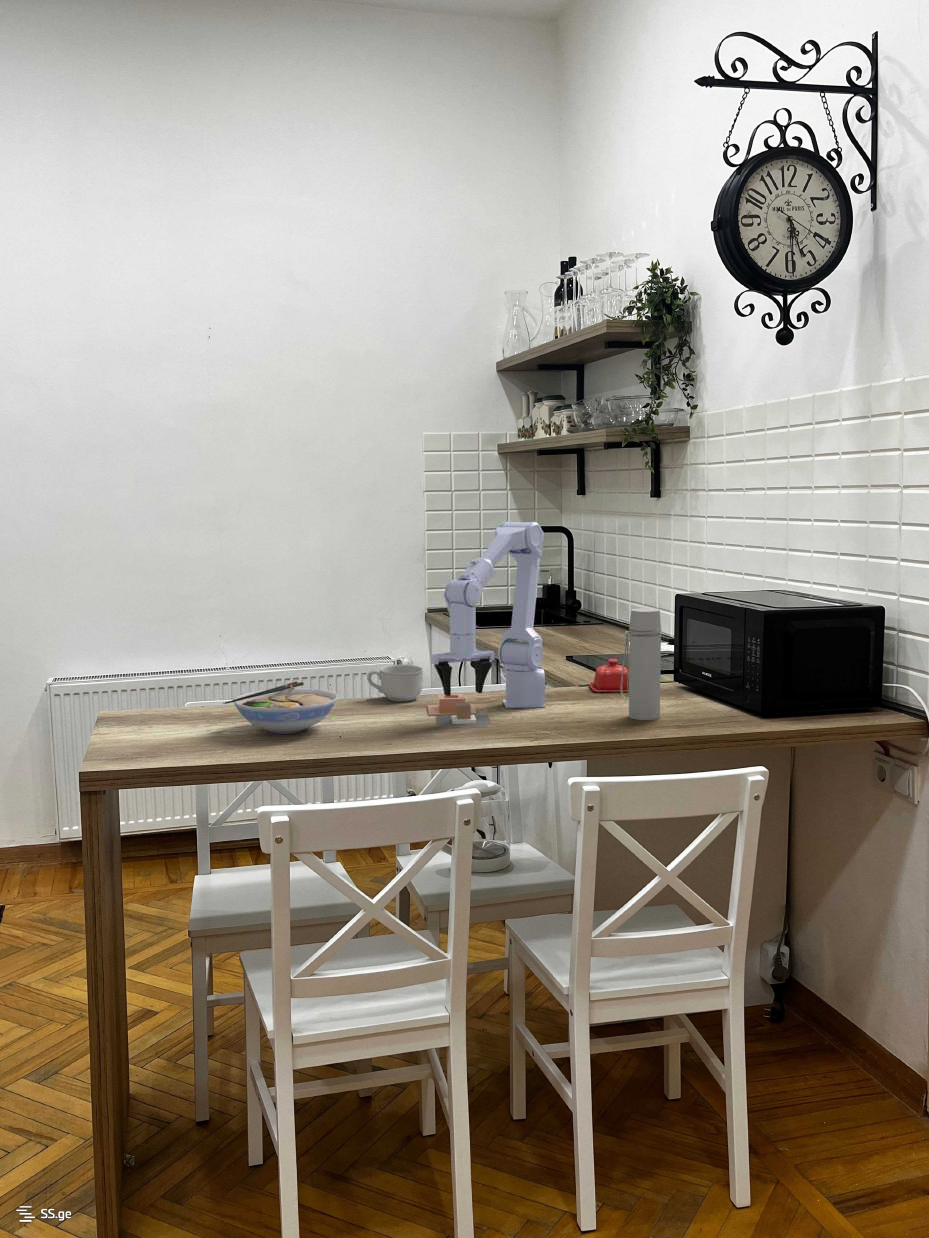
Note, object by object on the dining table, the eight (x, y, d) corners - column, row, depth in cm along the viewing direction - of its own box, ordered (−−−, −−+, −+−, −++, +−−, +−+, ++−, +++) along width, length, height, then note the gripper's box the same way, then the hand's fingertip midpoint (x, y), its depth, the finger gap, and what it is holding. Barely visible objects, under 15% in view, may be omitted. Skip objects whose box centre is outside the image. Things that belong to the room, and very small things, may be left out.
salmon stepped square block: (472, 705, 259) (472, 691, 259) (476, 715, 248) (476, 700, 248) (427, 706, 258) (427, 692, 258) (429, 716, 248) (428, 701, 247)
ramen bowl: (288, 748, 218) (287, 709, 217) (207, 735, 230) (206, 698, 229) (363, 725, 239) (362, 689, 238) (285, 714, 251) (284, 680, 250)
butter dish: (638, 695, 272) (639, 662, 271) (593, 695, 272) (593, 662, 270) (631, 687, 283) (631, 655, 282) (587, 687, 283) (587, 655, 282)
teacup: (426, 695, 273) (425, 664, 272) (420, 704, 262) (420, 671, 261) (372, 694, 274) (371, 664, 273) (364, 703, 264) (363, 671, 263)
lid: (474, 718, 243) (474, 701, 243) (476, 723, 238) (476, 706, 238) (451, 718, 243) (451, 702, 242) (452, 723, 238) (452, 707, 237)
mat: (487, 716, 247) (487, 714, 247) (492, 728, 235) (492, 726, 235) (435, 717, 246) (435, 716, 246) (438, 729, 234) (438, 727, 234)
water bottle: (664, 717, 244) (666, 608, 241) (655, 724, 237) (657, 612, 234) (625, 714, 248) (626, 607, 245) (615, 721, 241) (616, 610, 238)
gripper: (485, 629, 245) (485, 688, 246) (426, 633, 239) (426, 693, 241) (498, 633, 238) (498, 693, 240) (437, 637, 233) (438, 698, 234)
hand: (463, 693), depth 240 cm, fingers open, 7 cm apart
